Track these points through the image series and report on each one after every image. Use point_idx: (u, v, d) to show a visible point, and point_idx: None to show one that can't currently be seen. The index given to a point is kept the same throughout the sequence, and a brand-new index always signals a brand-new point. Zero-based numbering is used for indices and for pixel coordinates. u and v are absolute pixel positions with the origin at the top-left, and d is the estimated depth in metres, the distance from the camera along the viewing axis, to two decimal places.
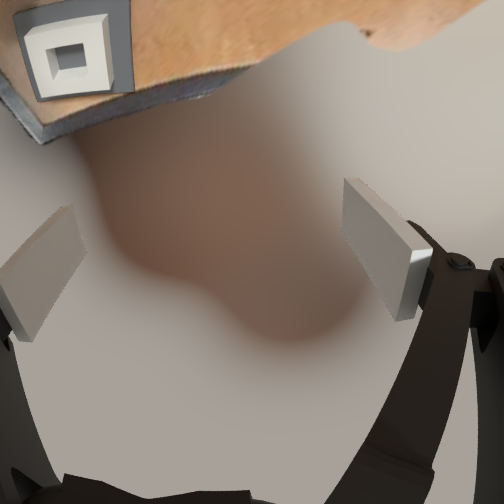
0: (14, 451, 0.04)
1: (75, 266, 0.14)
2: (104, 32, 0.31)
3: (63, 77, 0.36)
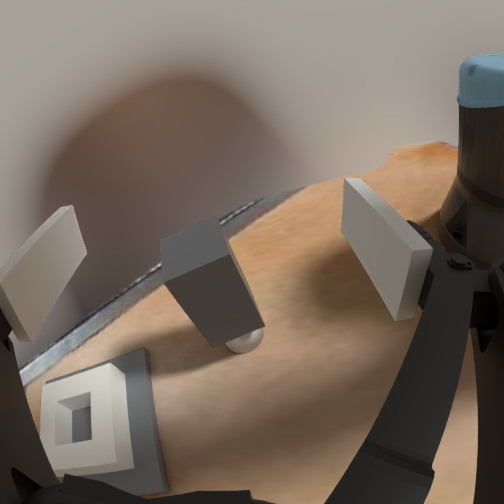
0: (14, 451, 0.04)
1: (75, 266, 0.14)
2: (105, 466, 0.23)
3: (58, 414, 0.29)
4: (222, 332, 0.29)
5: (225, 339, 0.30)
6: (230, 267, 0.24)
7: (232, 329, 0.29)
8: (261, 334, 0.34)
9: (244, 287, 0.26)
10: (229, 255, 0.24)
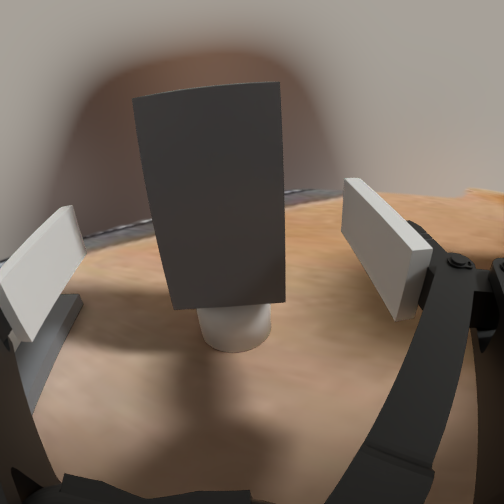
0: (14, 452, 0.04)
1: (75, 266, 0.14)
2: None
3: None
4: (201, 279, 0.15)
5: (202, 300, 0.15)
6: (270, 115, 0.11)
7: (223, 281, 0.15)
8: (267, 330, 0.19)
9: (280, 180, 0.12)
10: (277, 85, 0.10)
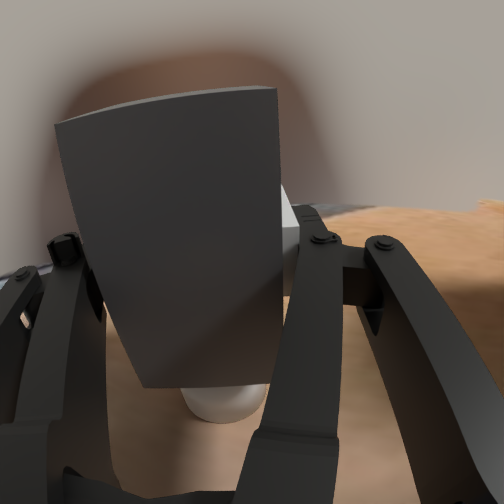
0: (74, 446, 0.04)
1: None
2: None
3: None
4: (174, 360, 0.11)
5: (177, 381, 0.11)
6: (262, 143, 0.07)
7: (201, 363, 0.11)
8: (261, 397, 0.15)
9: (277, 241, 0.08)
10: (273, 94, 0.07)
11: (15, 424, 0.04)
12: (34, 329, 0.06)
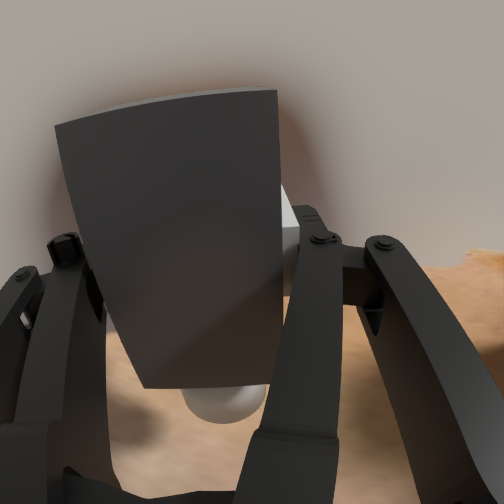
0: (73, 446, 0.04)
1: None
2: None
3: None
4: (174, 361, 0.11)
5: (178, 381, 0.11)
6: (262, 145, 0.07)
7: (201, 363, 0.11)
8: (261, 398, 0.15)
9: (277, 242, 0.08)
10: (273, 95, 0.07)
11: (15, 424, 0.04)
12: (34, 329, 0.06)
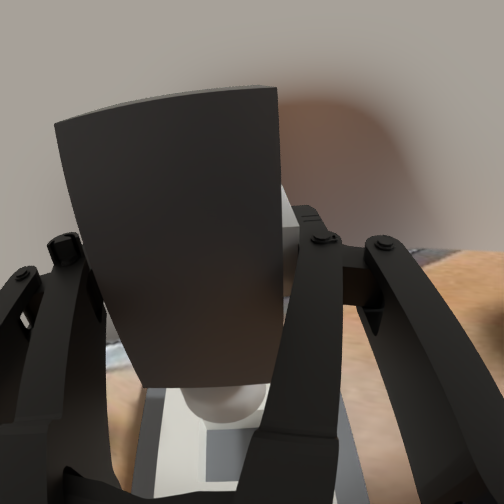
0: (73, 446, 0.04)
1: None
2: None
3: (200, 433, 0.21)
4: (173, 360, 0.11)
5: (177, 381, 0.11)
6: (262, 143, 0.07)
7: (201, 362, 0.11)
8: (261, 397, 0.15)
9: (277, 240, 0.08)
10: (273, 93, 0.07)
11: (15, 424, 0.04)
12: (34, 329, 0.06)
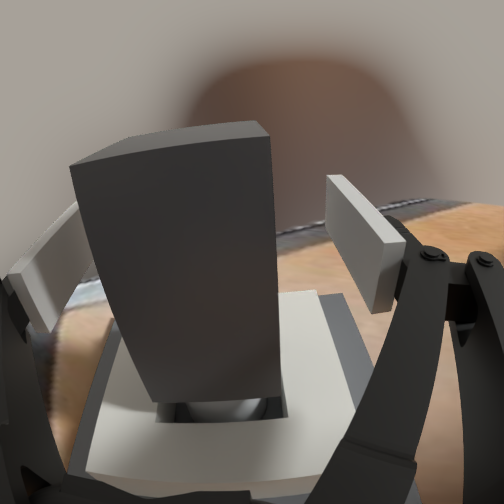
0: (25, 449, 0.04)
1: (90, 259, 0.14)
2: (317, 480, 0.10)
3: None
4: (180, 377, 0.11)
5: (184, 395, 0.12)
6: (257, 186, 0.08)
7: (206, 379, 0.12)
8: (262, 410, 0.15)
9: (273, 271, 0.09)
10: (266, 141, 0.08)
11: None
12: None
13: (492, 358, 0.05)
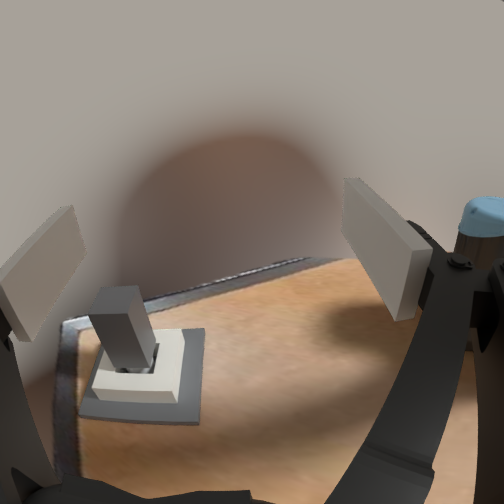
0: (14, 452, 0.04)
1: (75, 266, 0.14)
2: (158, 394, 0.38)
3: None
4: (120, 359, 0.39)
5: (122, 365, 0.39)
6: (127, 321, 0.35)
7: (127, 360, 0.39)
8: None
9: (135, 336, 0.37)
10: (127, 314, 0.35)
11: None
12: None
13: None
